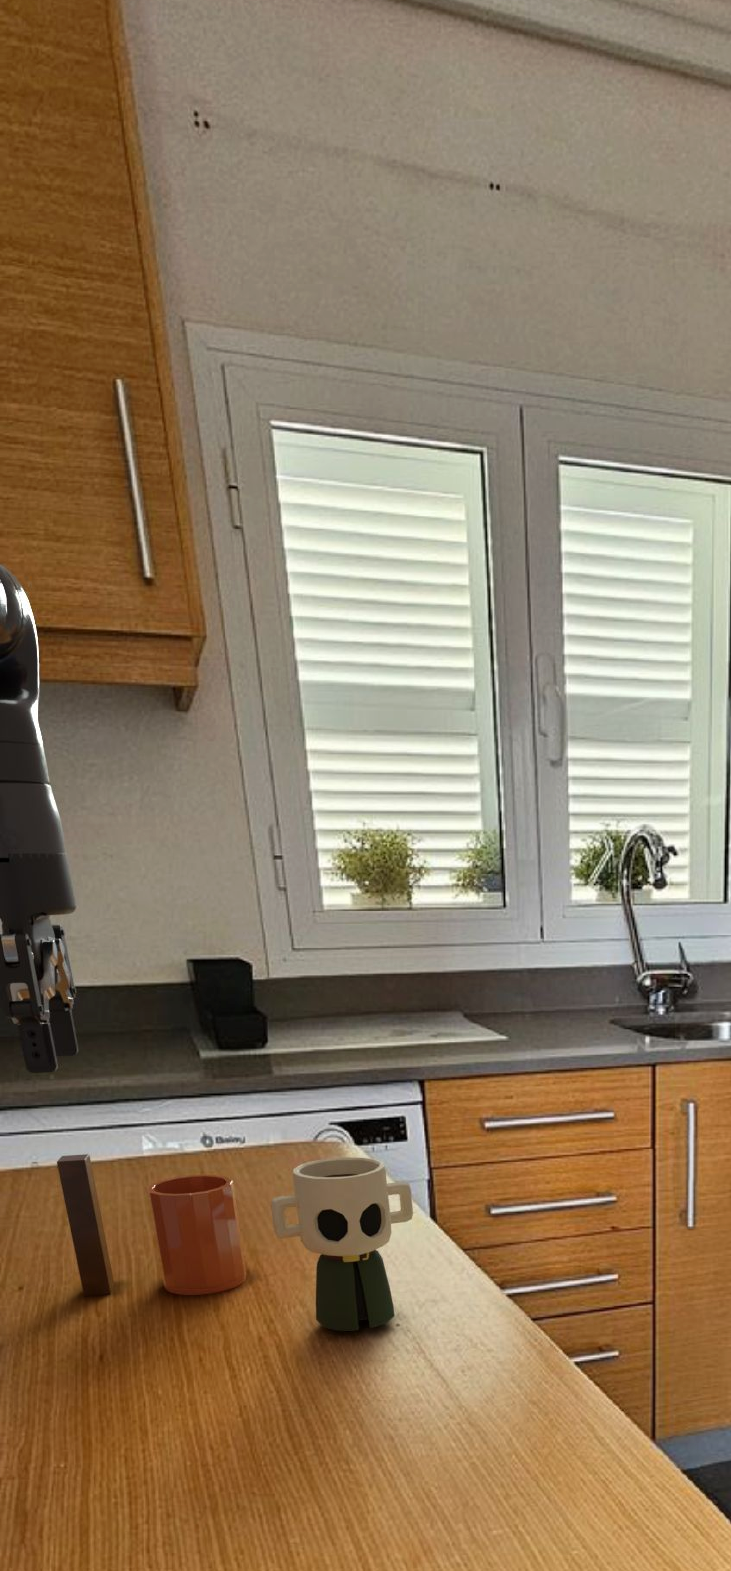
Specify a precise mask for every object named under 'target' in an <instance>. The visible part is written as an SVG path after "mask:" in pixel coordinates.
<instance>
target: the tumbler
mask: <svg viewBox="0 0 731 1571" xmlns="http://www.w3.org/2000/svg"><path fill="white" fill-rule="evenodd" d="M146 1194H147V1199H148V1205H149V1211H150V1218H151V1223H152V1229H153V1234H154V1239H155V1240H154V1241H155V1245H156V1252H157V1257H158V1262H159V1268H160V1274H161V1279H162V1282H163V1286H164V1289H165V1291H167V1292H169V1293H171V1294H175V1295H181V1296H201V1295H211V1294H216V1293H221V1292H225V1291H228V1290H231V1289H234V1288H236V1287H239V1286H240V1285H242V1284H244V1283H245V1281H246V1280H247V1266H246V1260H245V1253H244V1247H243V1239H242V1232H241V1226H240V1218H239V1213H238V1206H237V1199H236V1192H235V1186H234V1180H233V1179H232V1178H230V1177H229V1176H224V1175H219V1174H190V1175H182V1176H174V1177H169V1178H166V1179H162V1180H161V1179H160V1180H158V1181H156V1182H153V1183H151V1184H149V1185H148V1186H147V1188H146Z"/></svg>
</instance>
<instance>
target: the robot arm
mask: <svg viewBox="0 0 731 1571" xmlns="http://www.w3.org/2000/svg"><path fill="white" fill-rule="evenodd" d="M35 622H36V621H35V618H34V614H33V611H32V607H31V604H30V601H29V599H28V596H27V594H26V592H25V590H24V588H23V586H22V584H21V583H20V582H19V580H18V579H17V578H16V576H15V575H14V574H13V572H11V571H10V570H9V569H8V567H6V566H5V565H4V564H2V563H1V562H0V922H1V931H2V932H1V934H0V997H1V1003H2V1004H1V1005H2V1013H3V1014H4V1015H5V1017H6V1019H11V1020H12V1022H13V1024H17V1026H16V1027H17V1031H18V1036H19V1041H20V1046H21V1050H22V1056H23V1060H24V1061H23V1062H24V1064H25V1069H26V1071H28V1073H30V1074H43V1073H44V1074H45V1073H54V1072H55V1071H56V1070H57V1069H58V1068H59V1062H58V1057H70V1056H71V1057H72V1056H75V1055H77V1054H78V1052H79V1049H80V1048H79V1043H78V1038H77V1034H76V1028H75V1024H74V1023H75V1022H74V1017H73V1012H72V1009H73V1008H74V1004H75V1001H74V999H76V996H77V995H76V994H77V988H76V987H75V982H74V978H73V973H72V968H71V962H70V956H69V952H68V947H67V942H66V938H65V936H66V933H65V929H64V928H63V925H62V924H52V920H51V919H50V916H60V915H61V916H62V915H71V914H73V913H74V912H76V910H77V902H76V898H75V892H74V886H73V881H72V875H71V870H70V864H69V859H68V853H67V847H66V841H65V836H64V830H63V825H62V820H61V816H60V813H59V809H58V806H57V803H56V800H55V797H54V793H53V788H52V786H51V785H50V784H51V780H50V779H51V778H50V774H49V769H48V764H47V759H46V758H47V757H46V752H45V746H44V741H43V737H42V736H43V735H42V732H41V729H40V724H39V723H40V722H39V704H40V702H39V701H40V663H39V660H40V659H39V657H40V656H39V642H38V633H37V626H36V624H35ZM24 999H25V1000H24ZM26 999H29V1000H26Z"/></svg>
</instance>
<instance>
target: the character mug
mask: <svg viewBox="0 0 731 1571" xmlns="http://www.w3.org/2000/svg"><path fill="white" fill-rule="evenodd" d="M292 1178H293V1179H292V1180H293V1187H294V1194H290V1195H289V1194H288V1195H279V1196H276V1197H274V1198H272V1199H271V1204H270V1210H271V1216H272V1224H273V1231H274V1233H275V1236H276V1238H280V1239H289V1238H296V1237H300V1242H302V1244H303V1246H304V1248H305V1249H306V1250H308V1251H309V1252H311V1253H314V1254H319V1257H318V1260H317V1262H316V1272H315V1273H316V1274H315V1319H316V1321H317V1322H318V1323H319V1324H320V1325H321V1327H323V1328H325V1329H328V1330H333V1331H337V1332H340V1331H341V1332H342V1331H343V1332H344V1331H346V1332H348V1331H351V1332H353V1331H355V1332H356V1331H359V1330H360V1329H359V1326H360V1325H359V1321H363V1320H368V1324H369V1328H370V1329H371V1328H376V1327H379V1326H382V1325H385V1324H387V1323H389V1322H390V1321H391V1320H392V1319H393V1318H394V1317H395V1307H394V1302H393V1296H392V1293H391V1287H390V1283H389V1279H388V1276H387V1275H388V1274H387V1271H386V1267H385V1263H384V1258H383V1256H382V1255H381V1253H380V1252H379V1251H378V1249H380V1248H383V1247H384V1246H385V1245H387V1244H388V1243H390V1239H391V1236H392V1225H393V1224H400V1223H401V1224H402V1223H407V1222H409V1221H411V1220H413V1216H414V1209H413V1208H414V1207H413V1198H412V1197H413V1196H412V1188H411V1186H410V1183H409V1182H407V1181H397V1182H388V1180H387V1171H386V1166H385V1162H383V1161H381V1160H379V1159H376V1158H369V1157H355V1156H353V1157H351V1156H345V1157H329V1158H324V1159H318V1160H317V1159H316V1160H313V1161H309V1162H305V1163H302V1164H299V1165H298V1166H296V1167H294V1168H293V1171H292ZM387 1182H388V1183H387ZM395 1195H398V1196H399V1205H400V1206H399V1207H400V1210H397V1211H391V1209H390V1199H389V1196H395ZM290 1208H291V1209H292V1208H296V1211H297V1220H298V1223H297V1224H290V1225H288V1224H287V1218H286V1209H290Z"/></svg>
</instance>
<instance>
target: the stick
mask: <svg viewBox="0 0 731 1571" xmlns="http://www.w3.org/2000/svg"><path fill="white" fill-rule="evenodd" d="M56 1166H57V1170H58V1175H59V1180H60V1185H61V1189H62V1194H63V1198H64V1199H63V1200H64V1205H65V1209H66V1215H67V1219H68V1225H69V1228H70V1234H71V1239H72V1245H73V1249H74V1253H75V1259H76V1263H77V1269H78V1273H79V1278H80V1283H81V1288H82V1293H83V1297H94V1296H104V1295H105V1296H106V1295H111V1294H112V1292H113V1290H114V1289H115V1286H116V1285H115V1280H114V1276H113V1270H112V1265H111V1259H110V1254H109V1249H108V1243H107V1238H106V1232H105V1229H104V1223H103V1218H102V1213H101V1206H100V1201H99V1198H98V1192H97V1187H96V1181H95V1176H94V1172H93V1166H92V1161H91V1156H90V1154H89V1153H85V1154H69V1155H61V1156H60V1158H59V1159H58V1160H57V1161H56Z"/></svg>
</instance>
